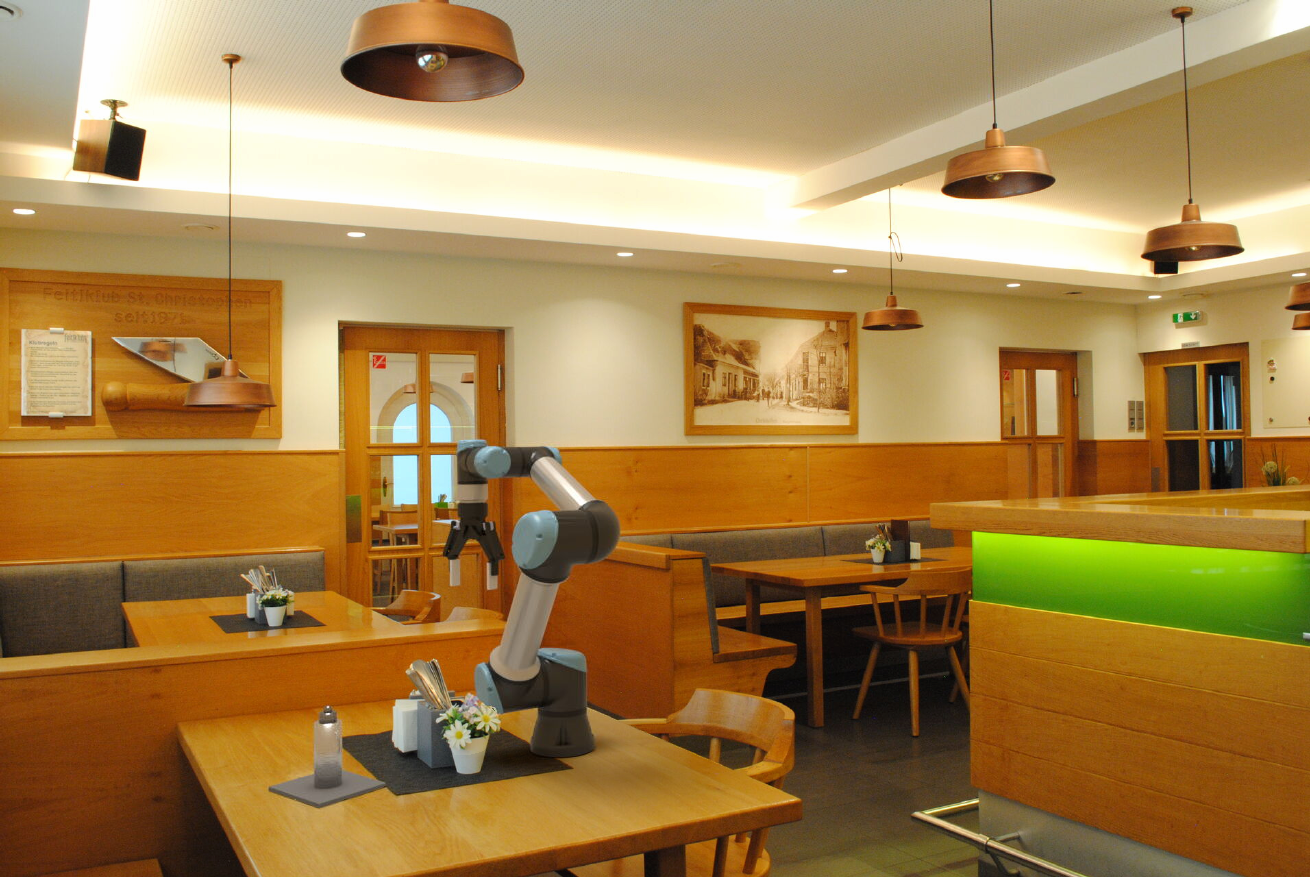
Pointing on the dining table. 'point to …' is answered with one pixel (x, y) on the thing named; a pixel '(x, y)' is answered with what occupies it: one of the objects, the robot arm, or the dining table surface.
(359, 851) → the dining table surface
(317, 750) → the pepper mill
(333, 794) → the slate mat
